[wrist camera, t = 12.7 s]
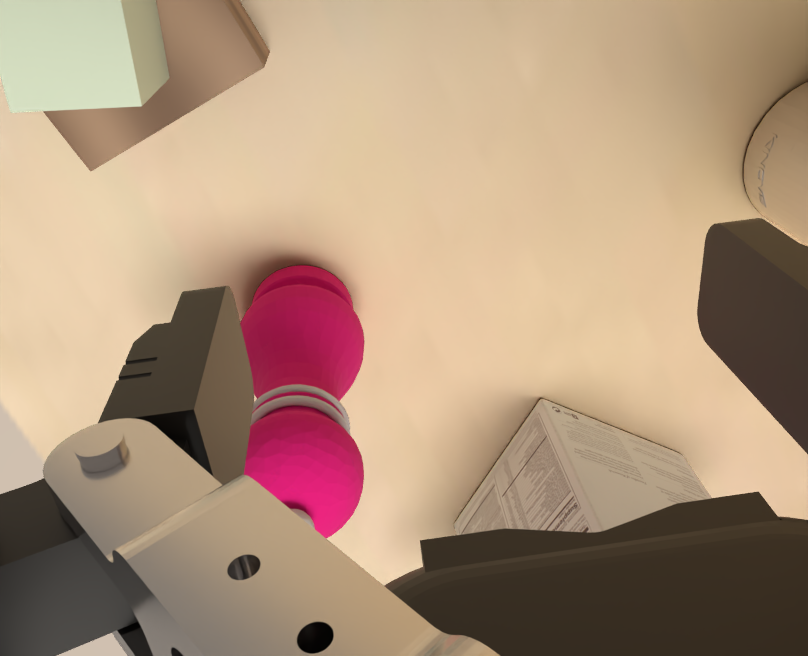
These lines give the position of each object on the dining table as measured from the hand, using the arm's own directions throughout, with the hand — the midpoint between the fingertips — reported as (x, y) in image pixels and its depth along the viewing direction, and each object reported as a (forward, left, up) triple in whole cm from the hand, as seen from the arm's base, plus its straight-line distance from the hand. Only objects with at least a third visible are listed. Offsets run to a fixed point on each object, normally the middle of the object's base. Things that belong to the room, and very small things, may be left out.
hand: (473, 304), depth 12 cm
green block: (+12, -3, -26) cm, 28 cm away
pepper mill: (+6, +15, -30) cm, 34 cm away
